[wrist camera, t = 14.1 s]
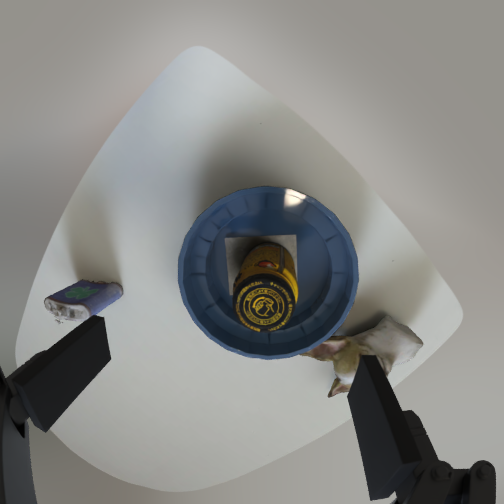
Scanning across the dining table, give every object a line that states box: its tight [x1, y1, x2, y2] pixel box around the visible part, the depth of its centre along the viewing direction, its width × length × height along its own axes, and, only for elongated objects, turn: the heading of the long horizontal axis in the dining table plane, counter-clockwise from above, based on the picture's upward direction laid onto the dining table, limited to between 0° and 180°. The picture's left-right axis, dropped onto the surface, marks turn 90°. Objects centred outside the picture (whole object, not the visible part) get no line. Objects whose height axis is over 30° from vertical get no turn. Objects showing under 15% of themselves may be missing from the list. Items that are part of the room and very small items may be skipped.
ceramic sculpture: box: [299, 316, 423, 398], centre depth 32 cm, size 11×9×15 cm
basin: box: [178, 186, 359, 360], centre depth 32 cm, size 19×19×6 cm
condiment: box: [225, 235, 298, 333], centre depth 28 cm, size 7×8×12 cm
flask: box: [44, 279, 123, 324], centre depth 33 cm, size 9×3×11 cm, turn 89°
